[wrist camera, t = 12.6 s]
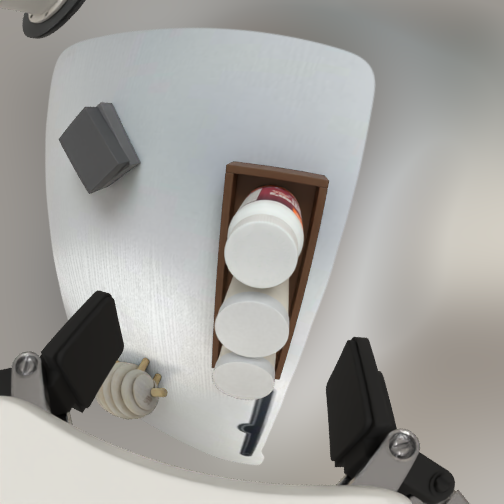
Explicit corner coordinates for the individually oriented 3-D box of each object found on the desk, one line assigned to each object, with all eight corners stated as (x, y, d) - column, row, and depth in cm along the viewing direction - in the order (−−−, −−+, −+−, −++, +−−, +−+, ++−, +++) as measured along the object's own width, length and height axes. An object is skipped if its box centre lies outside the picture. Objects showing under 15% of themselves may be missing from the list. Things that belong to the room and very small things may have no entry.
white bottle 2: (228, 298, 34) (206, 360, 24) (278, 296, 33) (272, 362, 23) (235, 335, 37) (218, 398, 27) (280, 335, 36) (275, 400, 26)
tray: (232, 161, 28) (226, 164, 25) (324, 175, 28) (329, 180, 25) (216, 352, 40) (211, 368, 37) (280, 363, 39) (279, 379, 36)
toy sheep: (97, 353, 45) (70, 392, 35) (156, 340, 41) (127, 391, 30) (129, 388, 49) (108, 427, 39) (191, 382, 44) (172, 432, 34)
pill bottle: (312, 210, 28) (325, 254, 18) (274, 249, 31) (266, 309, 21) (267, 171, 27) (255, 194, 17) (230, 214, 30) (200, 259, 20)
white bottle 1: (233, 247, 31) (208, 301, 21) (288, 244, 30) (287, 300, 20) (240, 293, 34) (221, 357, 24) (290, 292, 33) (289, 357, 23)
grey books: (80, 131, 28) (56, 134, 24) (113, 101, 26) (89, 100, 22) (107, 188, 31) (84, 197, 27) (142, 162, 29) (121, 168, 25)
